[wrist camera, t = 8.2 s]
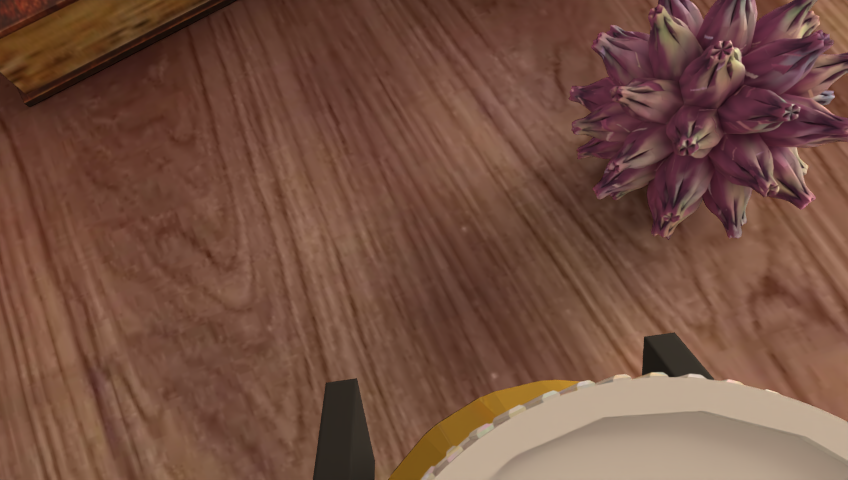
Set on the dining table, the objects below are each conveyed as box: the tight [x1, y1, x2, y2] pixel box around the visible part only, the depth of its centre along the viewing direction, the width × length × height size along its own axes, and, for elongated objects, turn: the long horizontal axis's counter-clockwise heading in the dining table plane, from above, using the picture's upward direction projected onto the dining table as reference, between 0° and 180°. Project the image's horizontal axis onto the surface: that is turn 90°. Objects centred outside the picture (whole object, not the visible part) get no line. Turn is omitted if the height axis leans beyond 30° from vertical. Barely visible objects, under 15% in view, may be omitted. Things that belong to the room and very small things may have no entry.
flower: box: [569, 0, 848, 240], centre depth 26 cm, size 12×12×12 cm
